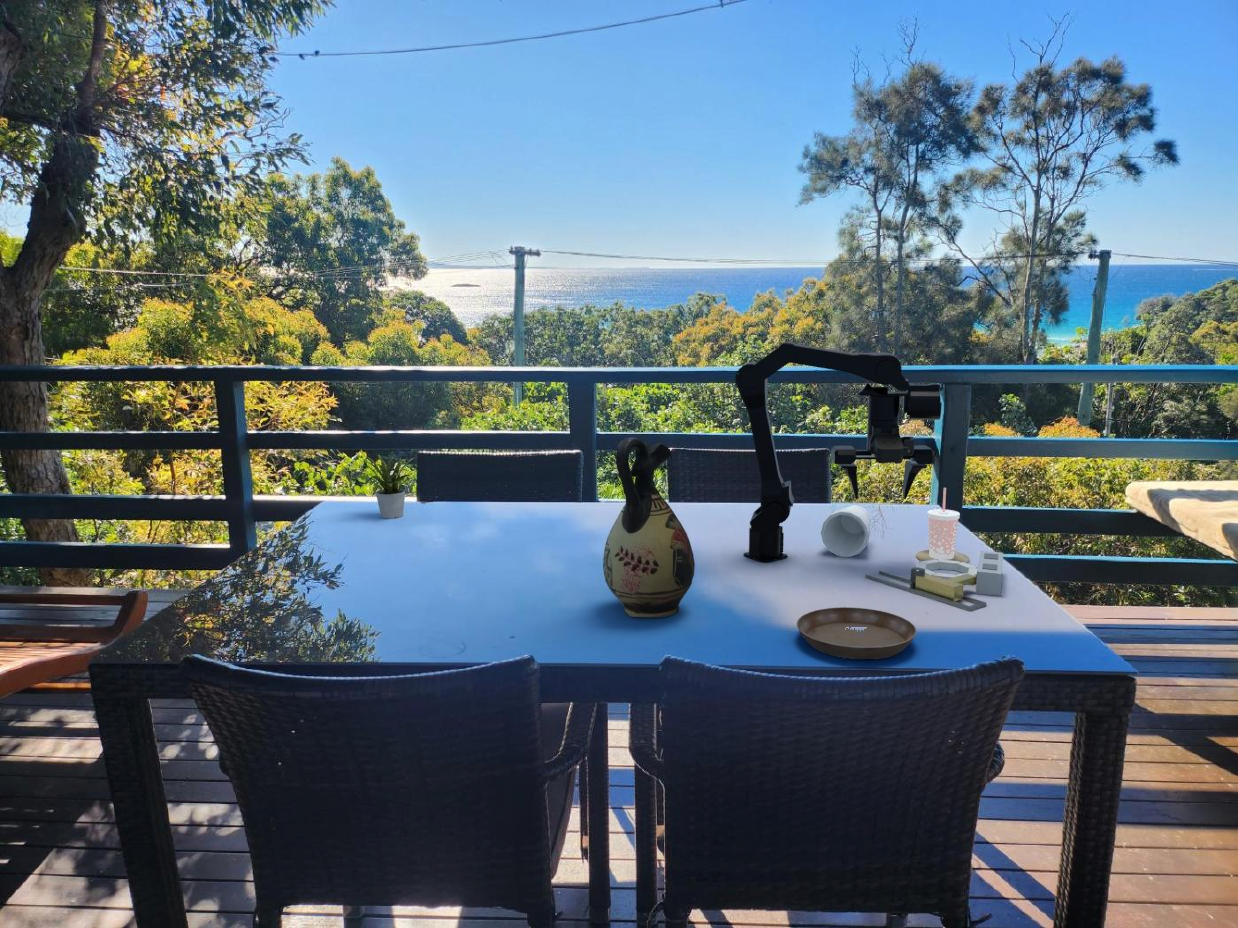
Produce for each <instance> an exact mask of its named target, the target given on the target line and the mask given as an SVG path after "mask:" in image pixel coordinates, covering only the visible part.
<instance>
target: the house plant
mask: <svg viewBox="0 0 1238 928" xmlns="http://www.w3.org/2000/svg"><path fill="white" fill-rule="evenodd" d="M392 454H393V452H391V454H390V457H389V461H388V463H386V461H384V459H383V457H382V456H381V455H380V454H379V453H378V456H377V457H378V458H379V460H380V465H379V467H378V465H377V463H376V461H375V460H373V459H372V458H370V457H368V456H366V455H365V456H363V455H362V457H363V458H366V459H369V461H371V462H372V463H371V462H369V461H360V462H361V463H366V464H369V465H371V466H372V467H373V468H374V469H375V470H376V472H377V473H379V475H378V474H377V473H376V472H375V470H374V469H373V468H372V467H370V466H368V465H365V464H363V465H361V466H362V467H367V468H369V469H370V470H371V471H372V472H373V473H374V474H375V475H372V476H371V477H369V480H370V482H369V483H368V486H372V484H375V485H376V486H377V487H378V488H379V489H380V490H377V491H376V492H375V496H376V501H377V505H378V510H379V514H380V518H382V519H385V518H393V519H396V518H395V517H399V518H401V517H400V516H402V515H404V510H405V509H404V507H405V500H406V499H405V498H406V490H405V489H403V488H401V487H402V486H403V484H405V482H407V481H409V480H413V479H414V478H412V477H410V478H407V477H409V476H410V474H403V475H401V473H402V472H403V470H404V468H406V466H407V465H408V464H409V463H410V462H411V461H412V460H414V459H416V458H417V457H412V458H411V459H409V460H408V461H406V463H404V461H402V457H400V458H399V459H398V462H397V464H396V466H395V468H394V470H393V472H392V474H391V462H392V460H393V458H394V457H395V455H394V456H392ZM391 456H392V457H391ZM401 461H402V462H401ZM403 463H404V465H403V466H402V464H403ZM401 466H402V468H401ZM400 468H401V469H400ZM390 475H391V476H390ZM404 478H406V480H404V481H403V482H402V480H403V479H404ZM372 479H373V480H372ZM374 479H375V480H374ZM376 482H378V483H379V484H380V485H381V486H379V485H378V483H376ZM402 517H403V516H402Z"/></svg>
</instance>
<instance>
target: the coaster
mask: <svg viewBox="0 0 1238 928" xmlns="http://www.w3.org/2000/svg"><path fill="white" fill-rule="evenodd" d="M915 556H916V557H915V558H916V559H917V560H918V561H919V562H920V561H927V560H934V558H932V557H930V556H929V549H923V550H920V551H917V552H916V554H915ZM936 560H938V559H936ZM949 560H951V561H960V562H964V563H967V564H969V562H970V557H969V556H968V555H967V554H965V553H962V552H957V551H955V550H954V557H953V559H949Z"/></svg>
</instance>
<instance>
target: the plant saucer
mask: <svg viewBox="0 0 1238 928" xmlns="http://www.w3.org/2000/svg"><path fill="white" fill-rule="evenodd" d="M796 627H797V629H798V631H799V633H800V635H801V636H802V638H804V639H805V641H806V642H807V644H809V645H810V646H811V647H812V648H814V649H815V650H817V651H818V650H819V652H820V651H821V653H823V652H824V653H823V654H825V653H826V654H825V655H828V654H829V656H831V655H833V656H832V657H835V656H837V657H836V658H840V657H842V658H841V659H846V658H850V659H849V660H855V659H874V660H880V659H881V658H882V659H887V658H890V657H893V656H896V655H898V654H899V653H901V652H902V651H903V650H904V649H906V648H907V647H908V646H909V645H910V644H911V643H912V641H913V640H914V638H915V637H916V635H917V631H918V630H917V627H916V626H915V625H914V624H913V622H911V621H909V620H908V619H906V618H904V617H902V616H900V615H897V614H894V613H891V612H887V611H882V610H877V609H872V608H864V607H863V608H862V607H848V606H847V607H846V606H845V607H843V606H842V607H826V608H821V609H815V610H812V611H810V612H807V613H805V614H803V615H801V616H799V618H798V619H797V620H796ZM846 627H849V629H848V628H846ZM851 627H867V628H866V629H864V631H863V630H861V632H860V630H858V632H857V630H855V628H854V630H852V629H851V630H850V628H851ZM845 628H846V630H845ZM857 635H858V636H857ZM860 635H861V636H860ZM852 658H853V659H852Z"/></svg>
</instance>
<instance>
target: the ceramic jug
mask: <svg viewBox="0 0 1238 928" xmlns="http://www.w3.org/2000/svg"><path fill="white" fill-rule="evenodd" d="M633 451H635V452H634V455H635V456H634V457H635V458H634V461H633V464H632V467H631V466H630V461H629V460H630V453H632V452H633ZM671 456H672V451H671V449H670V448H669V447H668V446H667V445H665V444H664V443H661V442H656V443H655V444H653V445H651V446H650V447H649V445H648V443H646V442H645V441H643V440H642V439H639V438H637V437H632V436H631V437H630V436H629V437H625V438H624V439H622V440H620V442H619V443H618V444H617V446H616V450H615V465H616V470H617V472H618V478H619V479H620V483H621V485H622V491H623V494H624V496H625V504H624V506H623V507H622V509H621V510H620V512H619V514H618V516H617V518H616V519H615V521H614V523H613V525H612V526H611V529H610V530H609V534H608V536H607V538H606V542H605V545H604V551H603V559H602V571H603V576H604V580H605V583H606V585H607V587H608V589H609V590H610V591H611V592H612V594H613V595H614V596H615V598H616V599H618V601H619V602H620V603H621V605H622V606H623V607H622V608H623V610H624V612H625V614H627V615H628V616H629V617H631V618H666V617H669V616H673V615H675V614H677V613H679V612H680V608H679V605H680V603H681V602H682V600H683V598H684V597H685V595H686V594H687V593H688V591H689V590H690V588H691V586H692V585H693V579H694V576H695V567H696V566H695V565H696V564H695V557H694V552H693V548H692V545H691V542H690V539H689V538H690V537H689V536H688V533H687V532H686V530H685V528H684V526H683V525H682V522H681V521H680V520H679V519H678V517H677V515H676V514H675V512H674V510H673V509H672V508H671V506H670V505H669V504H668V502H667V501H666V500H665V499H664V497H662V495H661V493H660V491H659V490H658V488H657V487H656V483H655V481H654V473H655V471H656V470H657V469H658V468H659V467H660V466H661V465H663V463H665V462H667V461H668V460H669V459H670V458H671Z"/></svg>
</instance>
